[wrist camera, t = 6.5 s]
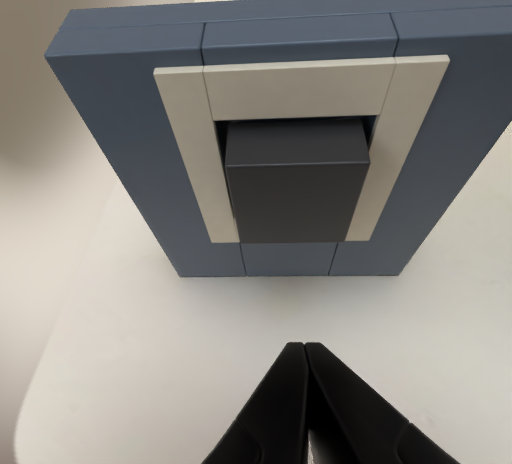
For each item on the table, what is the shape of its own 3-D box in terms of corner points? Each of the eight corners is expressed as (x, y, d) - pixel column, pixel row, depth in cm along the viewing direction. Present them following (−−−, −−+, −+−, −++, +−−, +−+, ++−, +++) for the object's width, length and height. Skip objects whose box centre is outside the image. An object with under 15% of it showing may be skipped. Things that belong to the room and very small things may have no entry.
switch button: (344, 243, 14) (372, 163, 10) (239, 244, 14) (223, 167, 10) (339, 204, 15) (362, 117, 11) (241, 206, 15) (228, 121, 11)
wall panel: (399, 280, 21) (585, 35, 8) (178, 281, 22) (37, 61, 9) (391, 241, 22) (538, -18, 10) (184, 244, 23) (69, 8, 11)
